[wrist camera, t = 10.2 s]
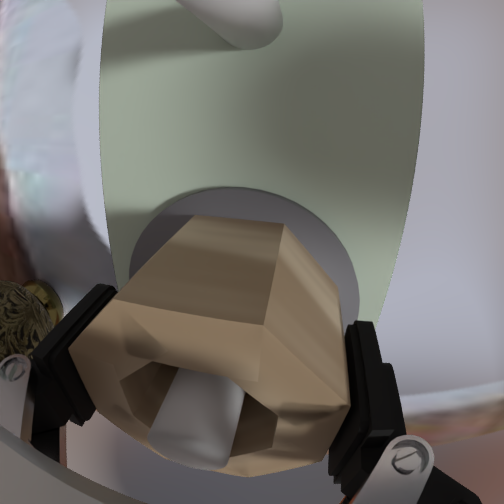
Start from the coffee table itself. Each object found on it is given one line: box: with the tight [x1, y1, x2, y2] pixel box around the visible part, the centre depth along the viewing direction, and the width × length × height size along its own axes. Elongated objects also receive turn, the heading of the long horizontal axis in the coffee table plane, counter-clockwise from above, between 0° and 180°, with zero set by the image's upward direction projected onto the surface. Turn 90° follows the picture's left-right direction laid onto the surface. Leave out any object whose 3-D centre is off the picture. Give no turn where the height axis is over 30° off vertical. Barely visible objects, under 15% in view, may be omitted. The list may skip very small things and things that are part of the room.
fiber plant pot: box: [0, 279, 64, 363], centre depth 13 cm, size 8×7×8 cm
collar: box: [68, 215, 351, 477], centre depth 9 cm, size 7×7×5 cm
